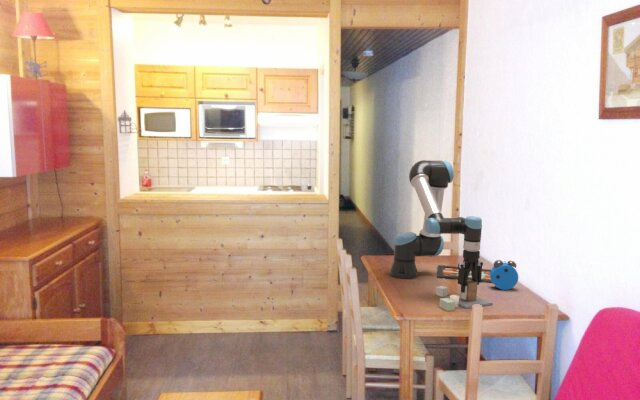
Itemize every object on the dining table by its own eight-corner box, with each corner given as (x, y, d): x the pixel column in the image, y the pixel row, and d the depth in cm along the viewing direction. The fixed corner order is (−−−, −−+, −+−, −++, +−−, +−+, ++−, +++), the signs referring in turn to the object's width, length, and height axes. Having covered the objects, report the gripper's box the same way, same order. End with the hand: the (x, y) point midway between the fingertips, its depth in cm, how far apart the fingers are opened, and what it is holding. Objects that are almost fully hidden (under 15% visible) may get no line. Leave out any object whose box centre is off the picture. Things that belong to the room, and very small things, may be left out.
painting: (436, 268, 320) (436, 264, 320) (497, 273, 313) (497, 269, 313) (436, 279, 293) (437, 275, 293) (503, 285, 286) (504, 280, 286)
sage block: (439, 307, 245) (439, 298, 244) (446, 306, 246) (447, 297, 246) (447, 311, 239) (447, 302, 239) (454, 310, 241) (455, 301, 240)
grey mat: (443, 298, 257) (443, 296, 257) (468, 295, 264) (468, 293, 264) (466, 309, 243) (466, 306, 243) (492, 304, 250) (492, 302, 250)
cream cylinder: (447, 305, 247) (448, 295, 246) (454, 304, 249) (455, 294, 248) (453, 308, 243) (454, 297, 243) (460, 307, 245) (461, 296, 245)
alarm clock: (514, 287, 280) (516, 259, 278) (517, 291, 274) (520, 262, 272) (488, 286, 281) (490, 258, 279) (491, 289, 275) (493, 261, 273)
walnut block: (460, 298, 254) (461, 280, 253) (468, 297, 257) (469, 279, 255) (467, 302, 250) (469, 283, 249) (476, 300, 252) (477, 282, 251)
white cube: (435, 294, 263) (436, 287, 262) (440, 293, 266) (440, 285, 265) (442, 297, 260) (442, 289, 260) (447, 295, 263) (447, 287, 262)
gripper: (462, 252, 243) (459, 302, 246) (491, 250, 251) (488, 298, 254) (451, 249, 250) (448, 298, 252) (480, 247, 258) (477, 294, 261)
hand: (468, 298), depth 253 cm, fingers closed on walnut block, 5 cm apart
